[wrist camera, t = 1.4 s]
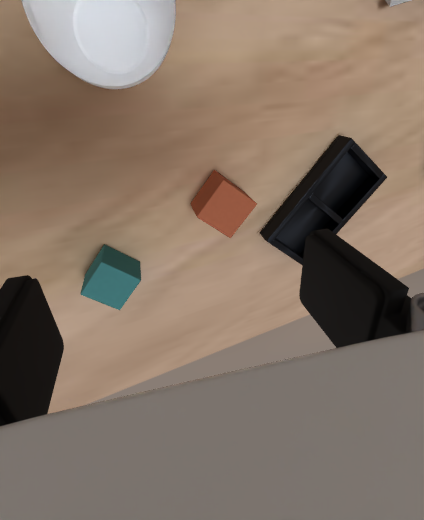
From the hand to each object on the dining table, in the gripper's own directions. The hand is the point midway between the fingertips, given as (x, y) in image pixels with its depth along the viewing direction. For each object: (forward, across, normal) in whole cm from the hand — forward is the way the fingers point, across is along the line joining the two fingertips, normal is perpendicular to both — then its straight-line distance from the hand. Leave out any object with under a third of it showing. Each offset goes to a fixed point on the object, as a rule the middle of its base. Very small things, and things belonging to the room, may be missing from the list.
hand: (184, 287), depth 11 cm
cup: (+27, +2, -11) cm, 29 cm away
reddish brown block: (+27, -8, +6) cm, 29 cm away
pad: (+27, +7, +14) cm, 31 cm away
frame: (+27, -21, +9) cm, 35 cm away
